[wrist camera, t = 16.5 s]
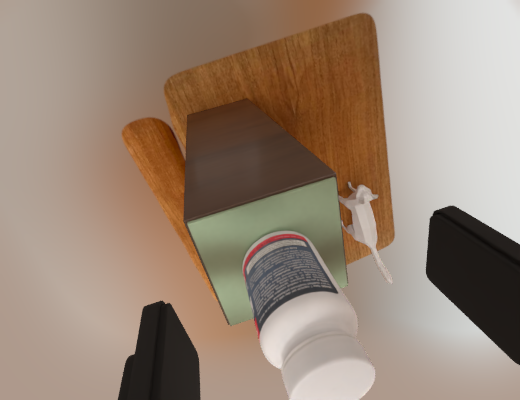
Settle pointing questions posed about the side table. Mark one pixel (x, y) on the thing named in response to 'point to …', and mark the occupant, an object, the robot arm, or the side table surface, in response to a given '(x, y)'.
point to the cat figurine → (364, 223)
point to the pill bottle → (305, 320)
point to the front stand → (254, 197)
